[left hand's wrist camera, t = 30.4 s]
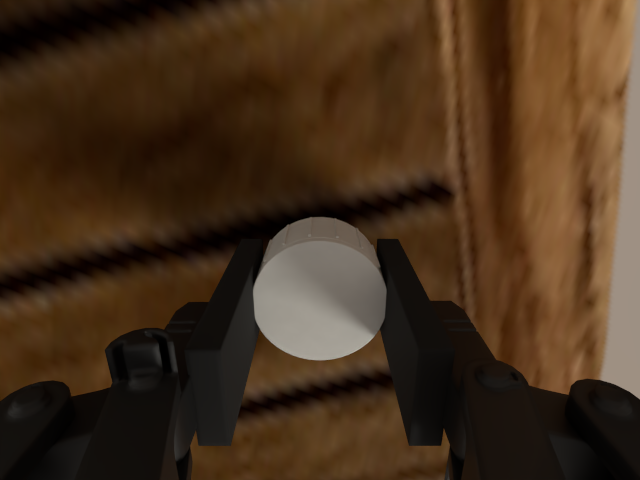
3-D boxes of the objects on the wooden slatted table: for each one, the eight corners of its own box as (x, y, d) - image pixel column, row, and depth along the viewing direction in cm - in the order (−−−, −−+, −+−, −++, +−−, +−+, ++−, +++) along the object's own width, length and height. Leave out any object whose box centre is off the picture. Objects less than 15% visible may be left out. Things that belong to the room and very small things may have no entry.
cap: (392, 303, 15) (404, 339, 13) (286, 334, 16) (280, 375, 13) (358, 199, 14) (365, 221, 11) (242, 238, 14) (228, 266, 12)
